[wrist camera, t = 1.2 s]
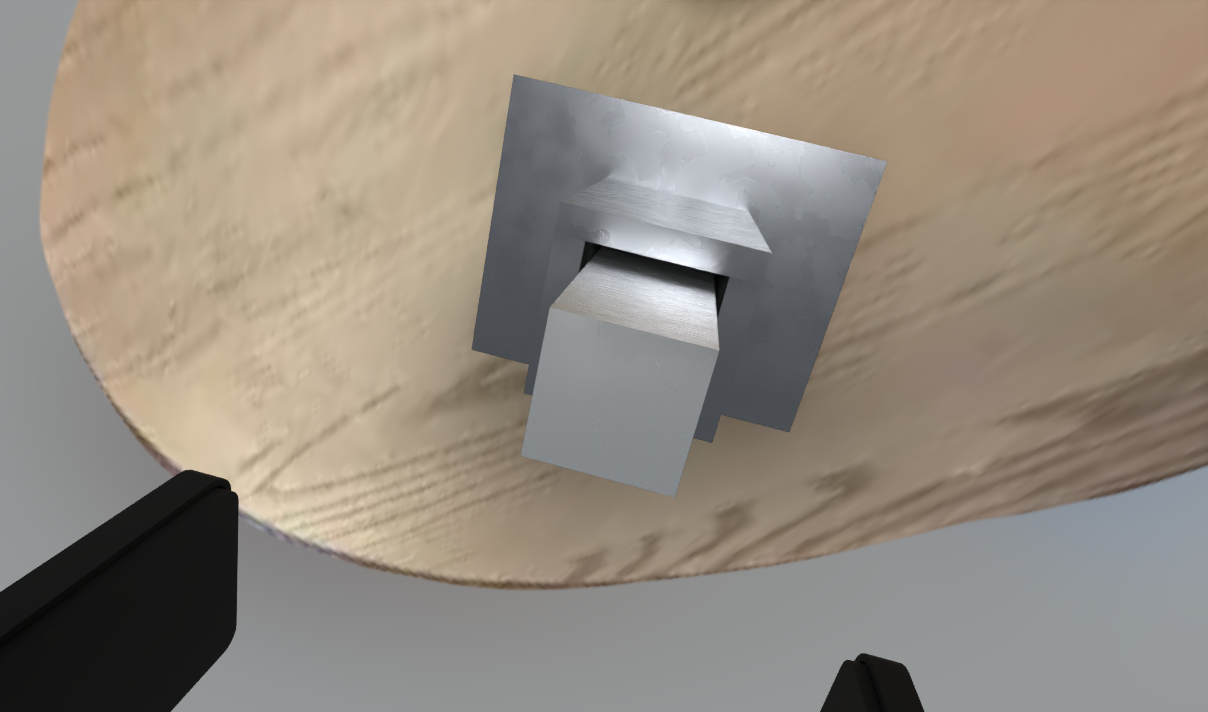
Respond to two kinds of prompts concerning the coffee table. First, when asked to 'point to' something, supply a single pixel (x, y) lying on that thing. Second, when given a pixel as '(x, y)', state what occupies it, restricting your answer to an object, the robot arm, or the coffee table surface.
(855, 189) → the stand housing
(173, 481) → the robot arm
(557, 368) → the column
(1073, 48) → the coffee table surface
